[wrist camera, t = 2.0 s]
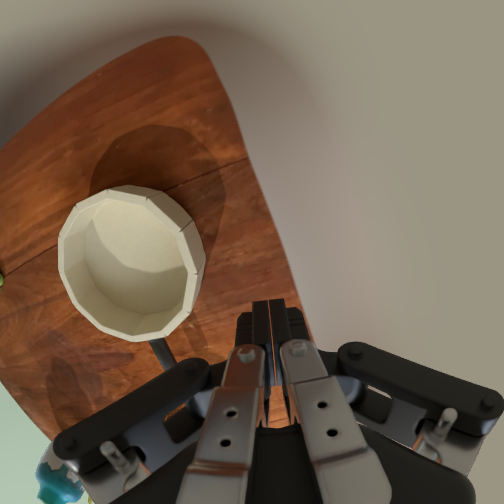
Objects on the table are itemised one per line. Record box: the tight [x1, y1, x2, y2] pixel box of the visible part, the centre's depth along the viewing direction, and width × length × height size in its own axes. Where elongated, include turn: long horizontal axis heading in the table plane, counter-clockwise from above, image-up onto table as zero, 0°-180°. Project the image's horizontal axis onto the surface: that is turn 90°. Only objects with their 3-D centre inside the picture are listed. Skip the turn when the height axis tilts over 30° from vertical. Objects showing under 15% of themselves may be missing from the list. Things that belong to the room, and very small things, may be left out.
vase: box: [36, 437, 85, 504], centre depth 30 cm, size 11×11×19 cm
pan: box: [58, 185, 206, 371], centre depth 26 cm, size 23×14×5 cm, turn 16°
